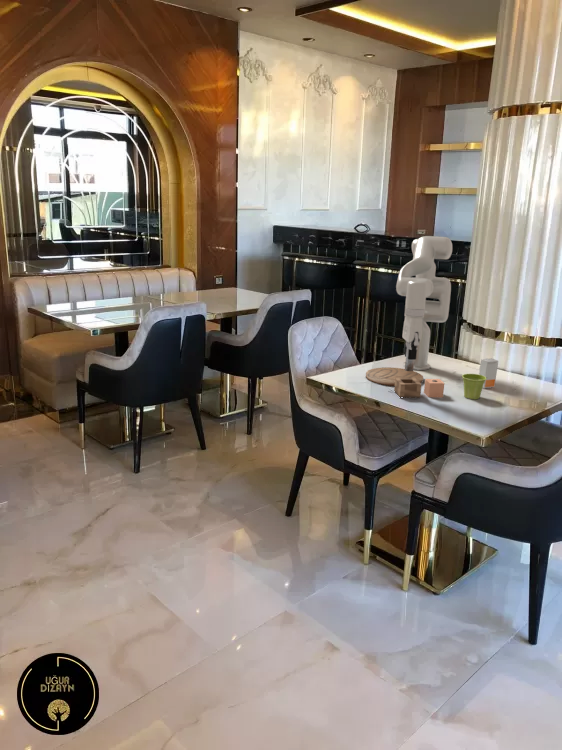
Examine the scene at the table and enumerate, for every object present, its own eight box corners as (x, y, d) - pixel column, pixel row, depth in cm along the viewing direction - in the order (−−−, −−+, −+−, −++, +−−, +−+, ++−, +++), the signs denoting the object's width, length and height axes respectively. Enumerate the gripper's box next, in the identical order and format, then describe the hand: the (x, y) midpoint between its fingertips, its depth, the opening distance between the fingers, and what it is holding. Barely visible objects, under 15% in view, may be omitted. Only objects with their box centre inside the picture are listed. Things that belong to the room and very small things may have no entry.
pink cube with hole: (423, 392, 254) (425, 378, 252) (437, 392, 255) (439, 378, 253) (428, 397, 248) (429, 383, 247) (442, 397, 249) (444, 383, 247)
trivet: (430, 377, 277) (430, 373, 277) (412, 391, 256) (412, 387, 256) (377, 368, 289) (378, 364, 288) (356, 381, 268) (356, 377, 268)
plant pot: (466, 401, 245) (469, 380, 242) (455, 394, 254) (458, 373, 251) (488, 400, 247) (490, 379, 244) (476, 393, 255) (479, 373, 253)
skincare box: (483, 388, 262) (487, 361, 258) (477, 385, 265) (480, 359, 262) (495, 387, 264) (498, 360, 260) (488, 384, 268) (492, 358, 264)
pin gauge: (403, 369, 249) (406, 335, 245) (411, 369, 249) (415, 335, 245) (406, 371, 245) (409, 337, 242) (414, 371, 246) (417, 337, 242)
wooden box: (394, 392, 254) (395, 378, 252) (413, 392, 255) (415, 378, 253) (399, 398, 246) (400, 384, 244) (420, 398, 247) (421, 384, 245)
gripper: (399, 308, 248) (395, 353, 253) (411, 316, 233) (407, 363, 238) (417, 308, 249) (413, 353, 254) (430, 316, 233) (426, 363, 238)
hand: (410, 357), depth 246 cm, fingers closed on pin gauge, 3 cm apart
